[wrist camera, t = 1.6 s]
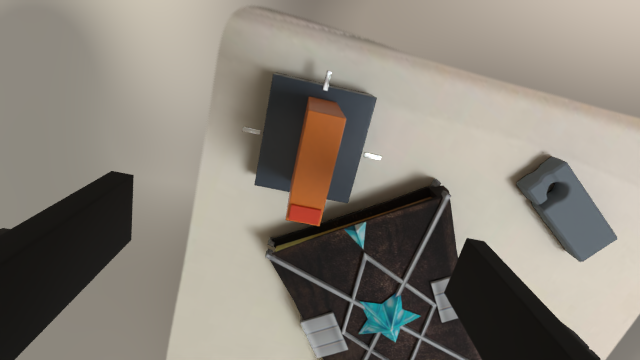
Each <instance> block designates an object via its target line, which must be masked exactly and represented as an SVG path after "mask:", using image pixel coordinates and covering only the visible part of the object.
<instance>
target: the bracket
mask: <svg viewBox="0 0 640 360" xmlns="http://www.w3.org/2000/svg"><path fill="white" fill-rule="evenodd" d="M554 182H555V186H554V188H553V189H552V191H550V192H549V193H547V190H548V187H549V185H550V184H551V183H554ZM517 186H518V187H519V188H520V190H521V191H522V192H523V194H524V195H525V196H526V198H528V199H529V200H531V201H532V206H533V207H534V208H535V210H536V211H537V212H538V214H539V215H540V216H541V218H542V219H543V220H544V222H545V223H546V224H547V225H548V227H549V228H550V229H551V231H552V232H553V233H554V235H555V236H556V237H557V239H558V240H559V241H560V243H561V244H562V245H563V247H564V248H565V249H566V251H567V252H568V253H569V254H570V255H572V256H573V257H574V258H576V259H577V260H578V261H584V260H586V259H587V258H589V257H591V256H592V255H594V254H595V253H597V252H598V251H600V250H601V249H603V248H604V247H606V246H607V245H609V244H610V243H612V242H613V241H615V240H617V236H616V235H615V233H614V232H613V230H612V229H611V227H610V226H609V224H608V223H607V221H606V220H605V218H604V217H603V215H602V214H601V212H600V211H599V209H598V208H597V207H596V205H595V204H594V202H593V201H592V199H591V198H590V196H589V195H588V193H587V192H586V190H585V189H584V187H583V186H582V184H581V183H580V181H579V180H578V178H577V177H576V175H575V174H574V172H573V171H572V169H571V168H570V166H569V165H568V163H567V162H565V161H563V160H560V159H558V158H555V157H550V158H549V159H548V160H546V161H545V162H544V163H542V164H541V165H540V166H539V168H538V169H537V170H536V171H534V172H533V173H530V174H527V175H526V176H525V177H523V178H522V179H521V180H519V181H518V182H517ZM546 193H547V194H546Z"/></svg>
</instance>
